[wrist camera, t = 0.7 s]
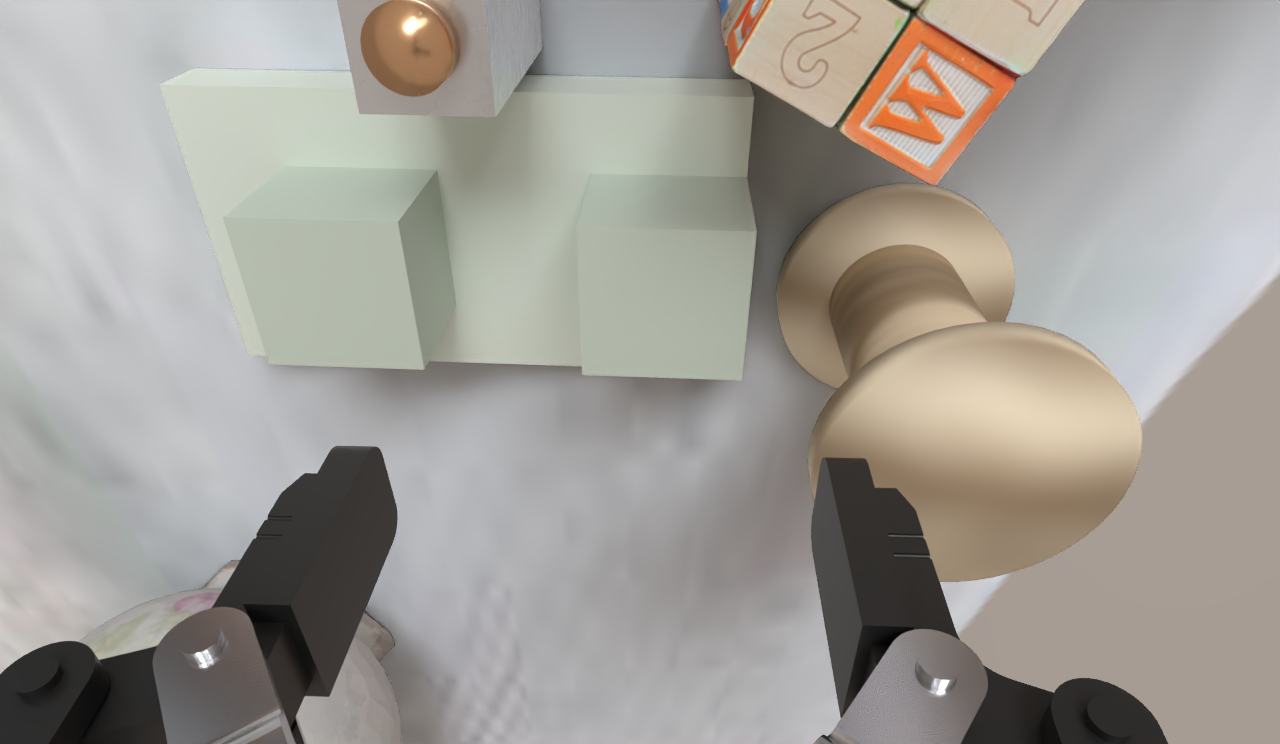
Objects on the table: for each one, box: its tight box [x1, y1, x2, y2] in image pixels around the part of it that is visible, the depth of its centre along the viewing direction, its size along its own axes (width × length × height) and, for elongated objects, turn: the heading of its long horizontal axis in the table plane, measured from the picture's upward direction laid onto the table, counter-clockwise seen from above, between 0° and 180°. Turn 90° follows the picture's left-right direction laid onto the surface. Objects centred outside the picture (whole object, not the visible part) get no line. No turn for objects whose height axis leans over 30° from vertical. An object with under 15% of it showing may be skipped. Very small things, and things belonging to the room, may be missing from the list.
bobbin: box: [776, 183, 1142, 582], centre depth 30 cm, size 10×10×12 cm
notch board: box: [159, 68, 757, 381], centre depth 31 cm, size 12×22×8 cm, turn 90°
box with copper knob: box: [337, 0, 543, 117], centre depth 25 cm, size 4×4×10 cm
